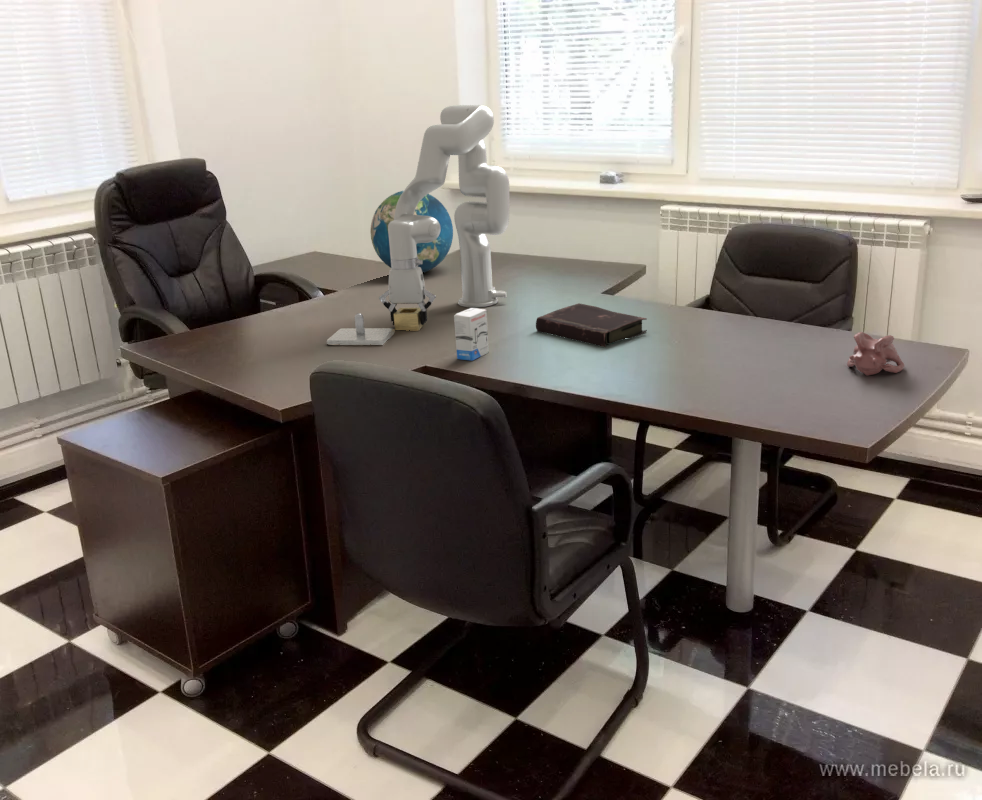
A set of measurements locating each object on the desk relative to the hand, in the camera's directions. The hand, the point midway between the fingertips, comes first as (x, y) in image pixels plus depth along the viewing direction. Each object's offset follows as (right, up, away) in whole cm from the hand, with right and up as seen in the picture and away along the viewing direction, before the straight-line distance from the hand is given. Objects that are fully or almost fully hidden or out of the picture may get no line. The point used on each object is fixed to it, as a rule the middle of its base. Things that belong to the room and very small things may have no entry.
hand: (409, 323), depth 271 cm
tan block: (0, -1, 0) cm, 1 cm away
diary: (+51, -4, -13) cm, 53 cm away
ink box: (+19, -11, -29) cm, 36 cm away
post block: (-13, -5, -9) cm, 16 cm away
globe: (-4, +24, +71) cm, 75 cm away
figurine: (+112, -16, -56) cm, 126 cm away
